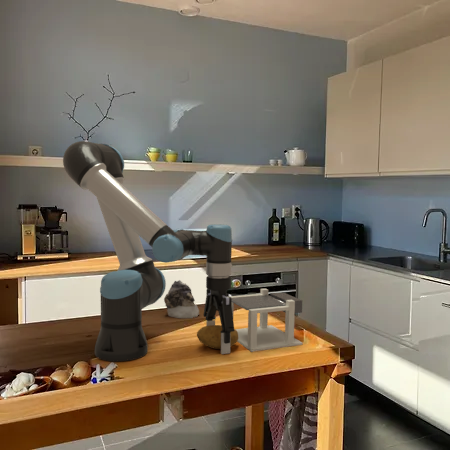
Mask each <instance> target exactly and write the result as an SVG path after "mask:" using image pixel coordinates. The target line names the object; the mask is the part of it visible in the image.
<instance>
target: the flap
mask: <svg viewBox="0 0 450 450" xmlns="http://www.w3.org/2000/svg"><path fill="white" fill-rule="evenodd" d="M269 294H270V295H269ZM269 294H268V295H267V294H266V295H265V296H255V297H244V298H232V302H233V303H234V304H235V305H237V306H238V307H240V308H242V309H244V310H245V311H249V309H258V308H268V307H278V306H286V300H293V301H295V314H302V313H303V300H302V299H301V298H298V297H295V296H292V295H291V294H288V293H286V292H272V293H271V292H270V293H269ZM282 312H284V313H285V314H286V310H285V311H282Z"/></svg>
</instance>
